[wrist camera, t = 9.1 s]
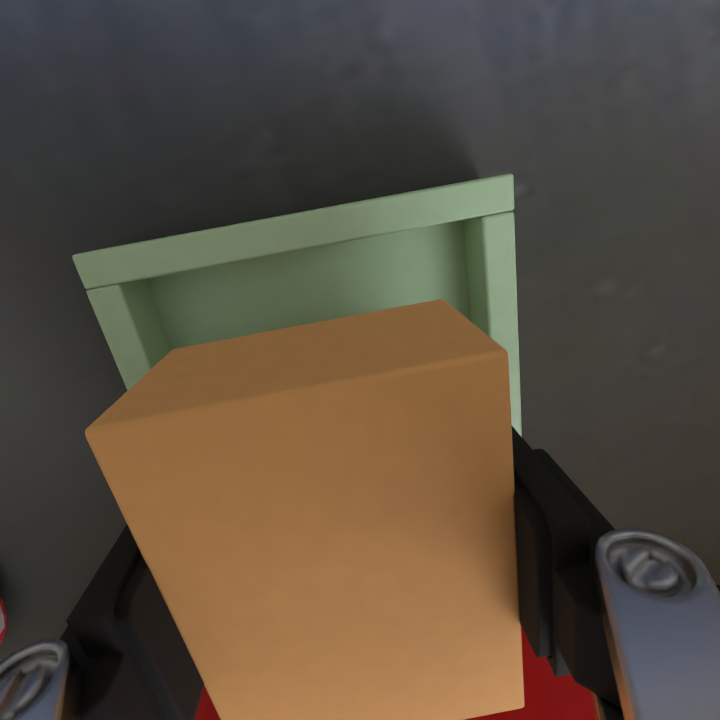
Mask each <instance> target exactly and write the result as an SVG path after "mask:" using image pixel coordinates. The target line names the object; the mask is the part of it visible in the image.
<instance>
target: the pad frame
mask: <svg viewBox="0 0 720 720" xmlns="http://www.w3.org/2000/svg"><path fill="white" fill-rule="evenodd" d="M513 209H514V184H513V174H504V175H499V176H493V177H487V178H481V179H475V180H470V181H465V182H459V183H454V184H448V185H443V186H438V187H432V188H427V189H421V190H416V191H411V192H405V193H400V194H395V195H389V196H384V197H378V198H373V199H368V200H362V201H357V202H351V203H346V204H341V205H335V206H330V207H325V208H319V209H314V210H308V211H303V212H298V213H292V214H287V215H281V216H276V217H271V218H265V219H260V220H255V221H249V222H244V223H238V224H233V225H228V226H222V227H217V228H211V229H206V230H201V231H195V232H190V233H185V234H179V235H174V236H168V237H163V238H158V239H152V240H147V241H141V242H136V243H131V244H125V245H120V246H115V247H110V248H105V249H99V250H94V251H89V252H84V253H79V254H74V255H73V256H72V259H73V261H74V263H75V266H76V268H77V271H78V273H79V275H80V278H81V280H82V283H83V285H84V287H85V288H86V289H88V290H87V291H86V293H87V295H88V298H89V300H90V302H91V305H92V307H93V310H94V312H95V314H96V317H97V319H98V322H99V324H100V326H101V329H102V331H103V333H104V336H105V338H106V341H107V343H108V345H109V348H110V350H111V353H112V355H113V357H114V360H115V362H116V365H117V367H118V369H119V372H120V374H121V377H122V379H123V381H124V384H125V386H126V388H127V391H128V390H129V389H130V388H131V387H132V386H133V385H134V384H135V383H137V382H138V381H139V380H140V379H141V378H142V377H143V376H144V375H145V374H146V373H147V372H149V371H150V370H151V369H152V368H153V367H154V366H155V365H156V364H157V363H158V362H159V361H160V360H162V359H163V358H164V357H165V356H166V355H167V354H168V353H169V352H170V351H172V350H173V349H177V348H182V347H188V346H193V345H198V344H204V343H209V342H214V341H219V340H225V339H230V338H235V337H241V336H246V335H251V334H257V333H262V332H267V331H273V330H278V329H283V328H289V327H294V326H299V325H305V324H310V323H315V322H321V321H326V320H331V319H337V318H342V317H347V316H353V315H358V314H363V313H369V312H374V311H379V310H385V309H390V308H395V307H401V306H406V305H411V304H417V303H422V302H427V301H433V300H438V299H443V300H445V301H446V302H447V303H449V304H450V305H451V306H452V307H454V308H455V309H456V310H457V311H459V312H460V313H461V314H462V315H464V316H465V317H466V318H467V319H468V320H470V321H471V322H472V323H473V324H475V325H476V326H477V327H478V328H480V329H481V330H482V331H483V332H485V333H486V334H487V335H488V336H490V337H491V338H492V339H493V340H494V341H496V342H497V343H498V344H499V345H501V346H502V347H503V348H504V349H506V351H507V353H508V360H509V382H510V403H511V425H512V426H513V427H514V429H515V430H516V431H517V432H518V433H519V435H520V436H521V437H522V428H521V400H520V371H519V342H518V314H517V285H516V256H515V228H514V213H513V212H512V210H513Z"/></svg>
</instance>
